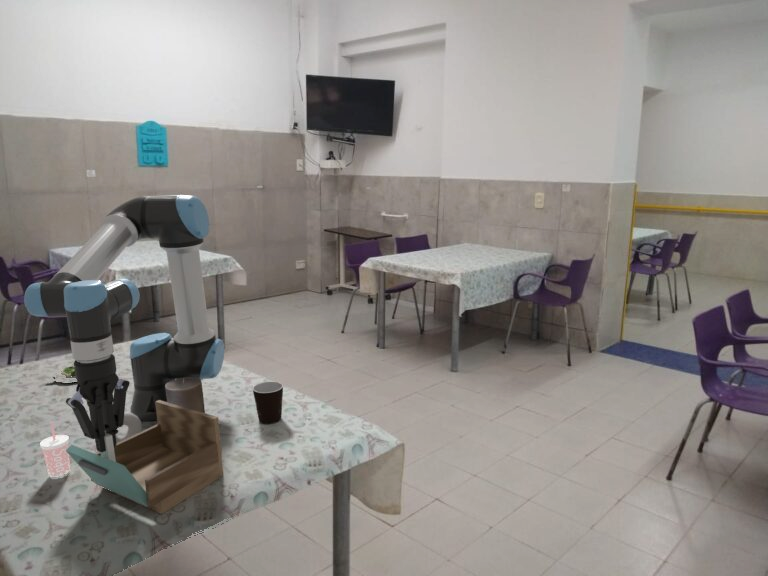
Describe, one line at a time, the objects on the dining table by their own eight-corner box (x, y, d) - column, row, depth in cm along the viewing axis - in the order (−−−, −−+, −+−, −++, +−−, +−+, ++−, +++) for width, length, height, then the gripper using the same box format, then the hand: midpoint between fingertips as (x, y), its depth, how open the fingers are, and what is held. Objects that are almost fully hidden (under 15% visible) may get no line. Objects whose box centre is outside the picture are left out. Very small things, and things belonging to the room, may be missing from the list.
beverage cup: (43, 483, 133) (34, 428, 130) (47, 471, 139) (38, 418, 136) (72, 477, 136) (64, 423, 133) (75, 465, 141) (67, 413, 138)
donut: (105, 456, 145) (100, 420, 143) (102, 451, 148) (97, 416, 146) (145, 444, 152) (141, 409, 149) (141, 439, 154) (137, 405, 152)
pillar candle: (208, 419, 166) (203, 370, 162) (204, 434, 156) (198, 383, 153) (174, 423, 164) (168, 374, 161) (167, 438, 155) (160, 386, 152)
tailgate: (91, 487, 127) (61, 454, 121) (101, 477, 129) (71, 444, 122) (143, 511, 118) (113, 476, 112) (152, 500, 120) (124, 465, 113)
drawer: (92, 492, 129) (84, 432, 126) (165, 454, 146) (159, 399, 143) (152, 519, 119) (144, 454, 116) (223, 475, 135) (218, 417, 132)
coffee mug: (278, 427, 160) (276, 393, 158) (250, 424, 162) (247, 391, 159) (293, 409, 171) (291, 378, 169) (266, 407, 173) (264, 376, 171)
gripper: (74, 370, 108) (90, 482, 113) (133, 350, 119) (146, 453, 124) (51, 364, 112) (69, 472, 117) (111, 345, 123) (124, 445, 128)
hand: (109, 462), depth 120 cm, fingers closed
